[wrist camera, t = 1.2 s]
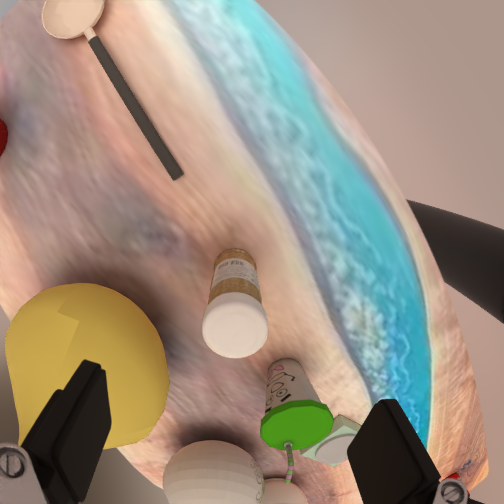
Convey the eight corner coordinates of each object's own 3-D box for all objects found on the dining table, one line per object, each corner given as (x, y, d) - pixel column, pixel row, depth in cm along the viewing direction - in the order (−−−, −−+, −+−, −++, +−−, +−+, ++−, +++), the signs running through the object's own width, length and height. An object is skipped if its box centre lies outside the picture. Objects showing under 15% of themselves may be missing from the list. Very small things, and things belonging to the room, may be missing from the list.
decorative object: (242, 476, 44) (245, 542, 30) (162, 458, 42) (149, 526, 28) (276, 432, 41) (288, 512, 26) (180, 410, 38) (166, 495, 24)
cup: (290, 336, 35) (318, 429, 21) (325, 371, 37) (359, 457, 23) (242, 371, 37) (245, 466, 22) (279, 401, 38) (294, 489, 24)
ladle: (94, -25, 20) (83, -39, 17) (210, 154, 33) (210, 157, 29) (44, 12, 21) (29, 3, 17) (152, 192, 33) (145, 200, 29)
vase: (136, 235, 31) (-82, 453, 2) (206, 367, 36) (184, 604, 8) (31, 288, 32) (-116, 425, 4) (99, 393, 37) (29, 558, 9)
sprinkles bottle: (212, 284, 33) (198, 356, 20) (216, 244, 32) (203, 299, 19) (253, 289, 33) (263, 363, 21) (259, 250, 32) (274, 307, 19)
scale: (339, 414, 40) (345, 427, 37) (370, 430, 42) (376, 442, 39) (298, 444, 42) (301, 457, 39) (332, 457, 44) (335, 469, 41)
